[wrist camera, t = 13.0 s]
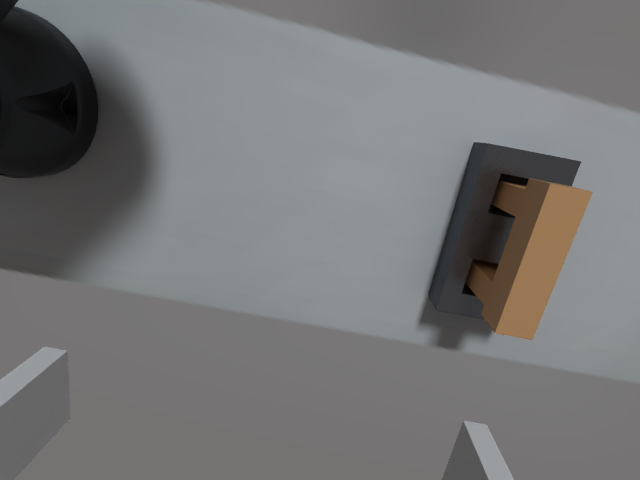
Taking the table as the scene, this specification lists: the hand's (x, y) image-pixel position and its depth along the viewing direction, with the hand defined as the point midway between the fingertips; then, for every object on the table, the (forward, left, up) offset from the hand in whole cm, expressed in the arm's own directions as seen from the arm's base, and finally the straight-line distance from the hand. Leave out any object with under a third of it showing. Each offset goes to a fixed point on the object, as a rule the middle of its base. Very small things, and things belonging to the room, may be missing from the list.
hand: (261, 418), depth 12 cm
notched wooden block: (+10, +14, -27) cm, 32 cm away
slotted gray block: (+10, +14, -27) cm, 32 cm away
